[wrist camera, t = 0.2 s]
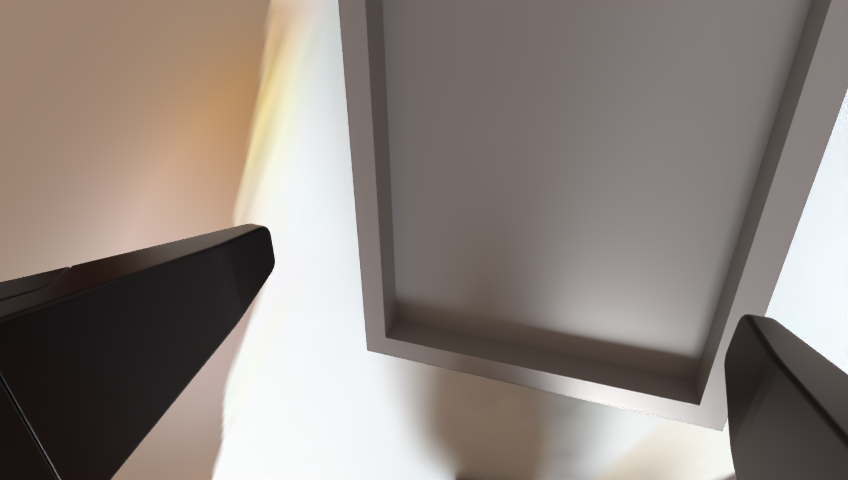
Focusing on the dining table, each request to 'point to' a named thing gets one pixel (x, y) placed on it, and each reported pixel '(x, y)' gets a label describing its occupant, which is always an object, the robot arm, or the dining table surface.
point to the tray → (584, 183)
